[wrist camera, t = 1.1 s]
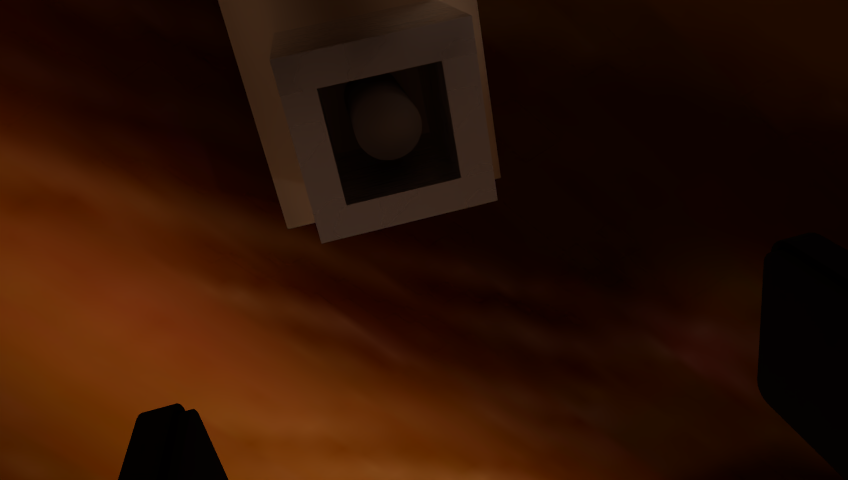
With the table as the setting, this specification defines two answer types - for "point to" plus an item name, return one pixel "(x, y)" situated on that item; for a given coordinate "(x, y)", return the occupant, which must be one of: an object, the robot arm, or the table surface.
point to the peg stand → (332, 92)
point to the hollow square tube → (436, 150)
